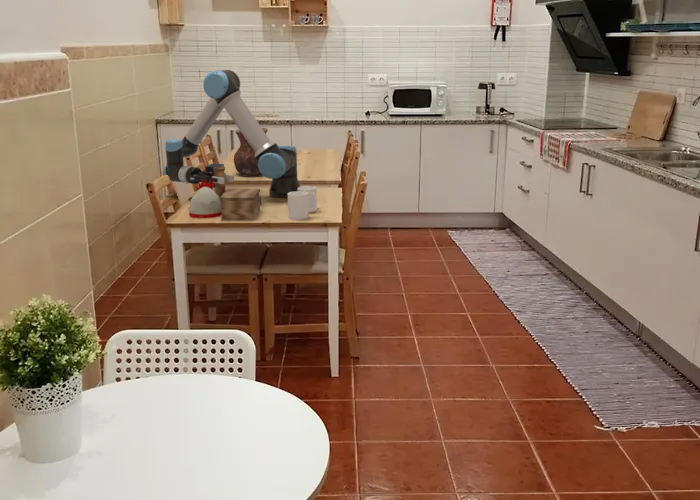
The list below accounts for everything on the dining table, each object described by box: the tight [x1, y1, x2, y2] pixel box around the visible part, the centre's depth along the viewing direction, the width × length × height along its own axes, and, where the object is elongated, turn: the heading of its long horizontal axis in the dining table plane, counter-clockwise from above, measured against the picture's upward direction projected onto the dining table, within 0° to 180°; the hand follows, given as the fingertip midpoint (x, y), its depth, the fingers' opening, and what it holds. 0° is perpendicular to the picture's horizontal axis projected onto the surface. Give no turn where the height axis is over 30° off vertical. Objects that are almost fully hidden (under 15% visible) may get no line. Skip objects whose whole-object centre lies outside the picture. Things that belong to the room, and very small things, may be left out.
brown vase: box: [233, 127, 268, 177], centre depth 379 cm, size 22×21×25 cm
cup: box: [287, 191, 318, 221], centre depth 282 cm, size 8×12×10 cm
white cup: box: [297, 185, 317, 214], centre depth 292 cm, size 8×8×10 cm
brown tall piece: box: [213, 166, 226, 199], centre depth 309 cm, size 5×5×16 cm
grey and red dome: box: [188, 179, 222, 219], centre depth 288 cm, size 14×14×15 cm
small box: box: [204, 163, 225, 188], centre depth 352 cm, size 11×6×10 cm, turn 168°
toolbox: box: [220, 188, 262, 221], centre depth 294 cm, size 14×33×9 cm, turn 179°
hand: (228, 179), depth 306 cm, fingers open, 5 cm apart
